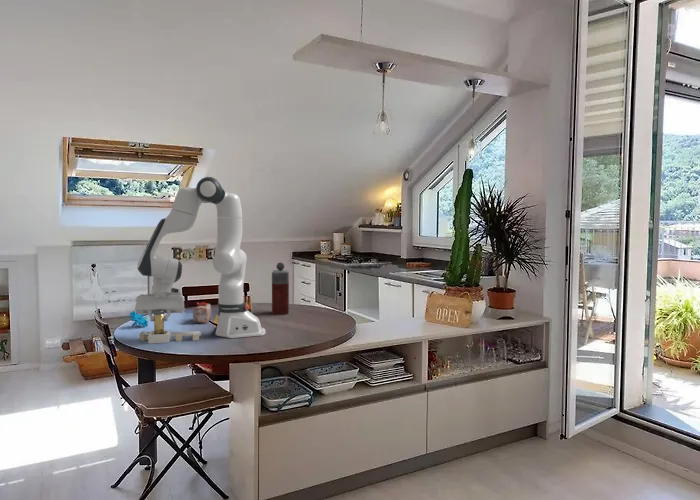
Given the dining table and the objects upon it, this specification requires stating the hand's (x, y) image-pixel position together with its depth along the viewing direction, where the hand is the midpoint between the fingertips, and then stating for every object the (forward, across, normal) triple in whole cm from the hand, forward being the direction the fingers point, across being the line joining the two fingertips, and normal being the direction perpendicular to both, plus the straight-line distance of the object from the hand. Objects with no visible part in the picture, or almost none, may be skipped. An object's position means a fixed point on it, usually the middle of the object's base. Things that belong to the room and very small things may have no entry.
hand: (158, 320), depth 228 cm
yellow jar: (+4, 0, +5) cm, 6 cm away
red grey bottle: (-33, +56, +46) cm, 80 cm away
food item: (-22, +16, +35) cm, 44 cm away
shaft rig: (+6, +7, +7) cm, 11 cm away
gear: (-16, -13, +30) cm, 36 cm away
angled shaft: (+4, -6, +9) cm, 11 cm away
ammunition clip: (-24, +35, +37) cm, 57 cm away
